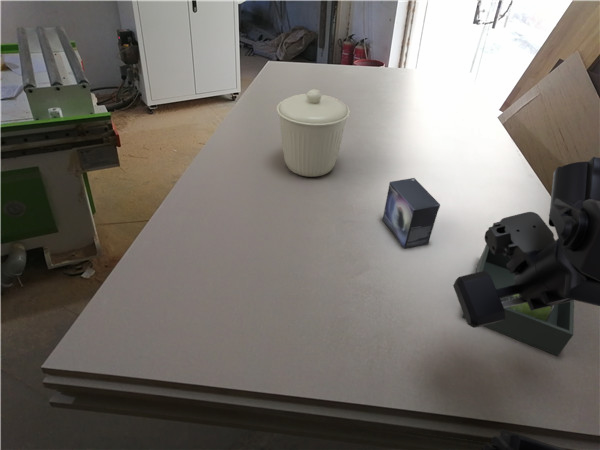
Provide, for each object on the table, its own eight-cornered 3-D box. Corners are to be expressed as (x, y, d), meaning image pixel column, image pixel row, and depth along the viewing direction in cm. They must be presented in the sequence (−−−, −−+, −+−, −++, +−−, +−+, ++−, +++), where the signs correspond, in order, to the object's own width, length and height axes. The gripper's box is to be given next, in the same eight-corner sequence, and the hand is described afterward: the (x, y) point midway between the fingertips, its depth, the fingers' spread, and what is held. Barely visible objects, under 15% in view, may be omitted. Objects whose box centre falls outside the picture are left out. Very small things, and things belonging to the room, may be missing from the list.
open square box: (557, 356, 65) (573, 334, 62) (461, 317, 71) (471, 295, 67) (561, 288, 77) (575, 267, 74) (479, 260, 83) (488, 239, 79)
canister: (327, 147, 119) (333, 75, 106) (354, 179, 106) (365, 100, 93) (268, 156, 114) (267, 80, 101) (288, 190, 100) (290, 108, 87)
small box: (380, 219, 92) (387, 180, 86) (405, 215, 94) (414, 176, 87) (402, 249, 84) (413, 208, 78) (429, 244, 86) (442, 204, 80)
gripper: (613, 183, 46) (552, 231, 60) (451, 223, 47) (429, 261, 61) (668, 275, 41) (588, 304, 56) (489, 318, 42) (455, 335, 57)
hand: (512, 298), depth 57 cm, fingers open, 9 cm apart
